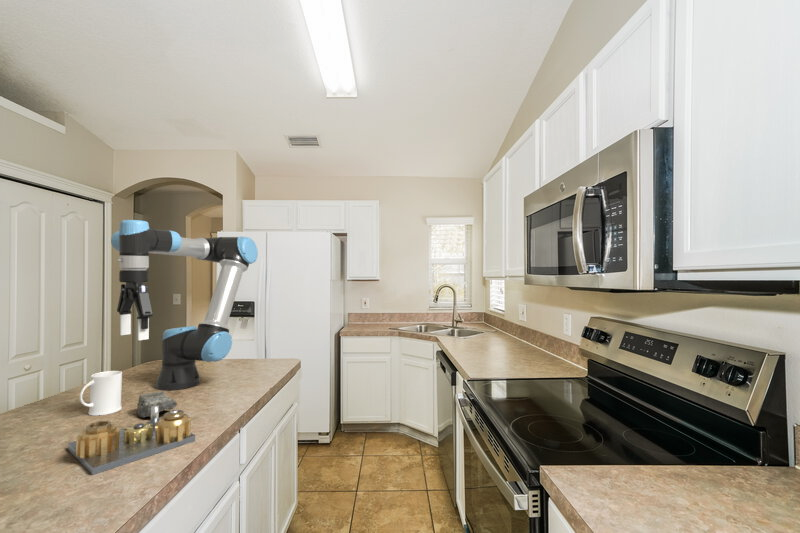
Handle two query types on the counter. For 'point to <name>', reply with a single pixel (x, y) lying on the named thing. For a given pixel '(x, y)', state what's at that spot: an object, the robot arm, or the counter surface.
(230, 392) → the counter surface
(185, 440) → the carrier
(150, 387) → the counter surface
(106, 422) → the gear
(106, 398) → the mug
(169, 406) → the rock
